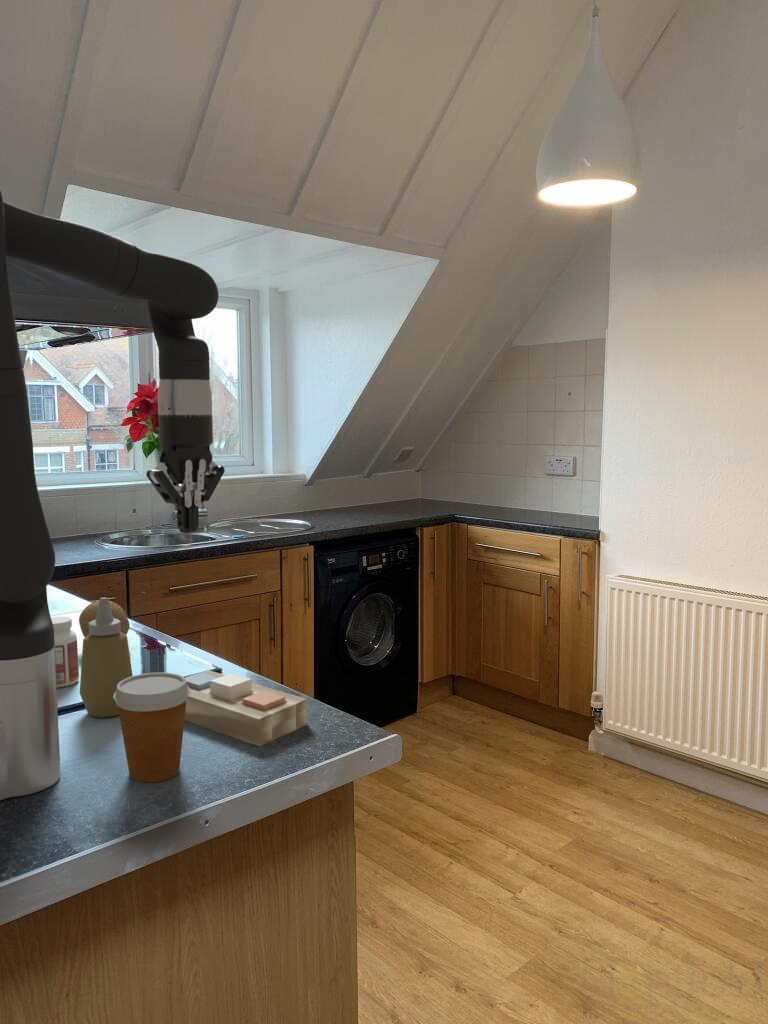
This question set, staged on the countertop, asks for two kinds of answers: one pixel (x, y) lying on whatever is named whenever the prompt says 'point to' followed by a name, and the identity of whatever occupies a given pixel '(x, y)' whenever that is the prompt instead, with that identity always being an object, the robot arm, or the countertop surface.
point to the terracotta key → (263, 700)
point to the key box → (246, 714)
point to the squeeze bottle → (103, 663)
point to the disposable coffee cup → (152, 723)
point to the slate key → (199, 681)
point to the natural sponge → (91, 614)
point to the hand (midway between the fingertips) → (188, 532)
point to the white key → (231, 686)
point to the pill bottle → (65, 652)
